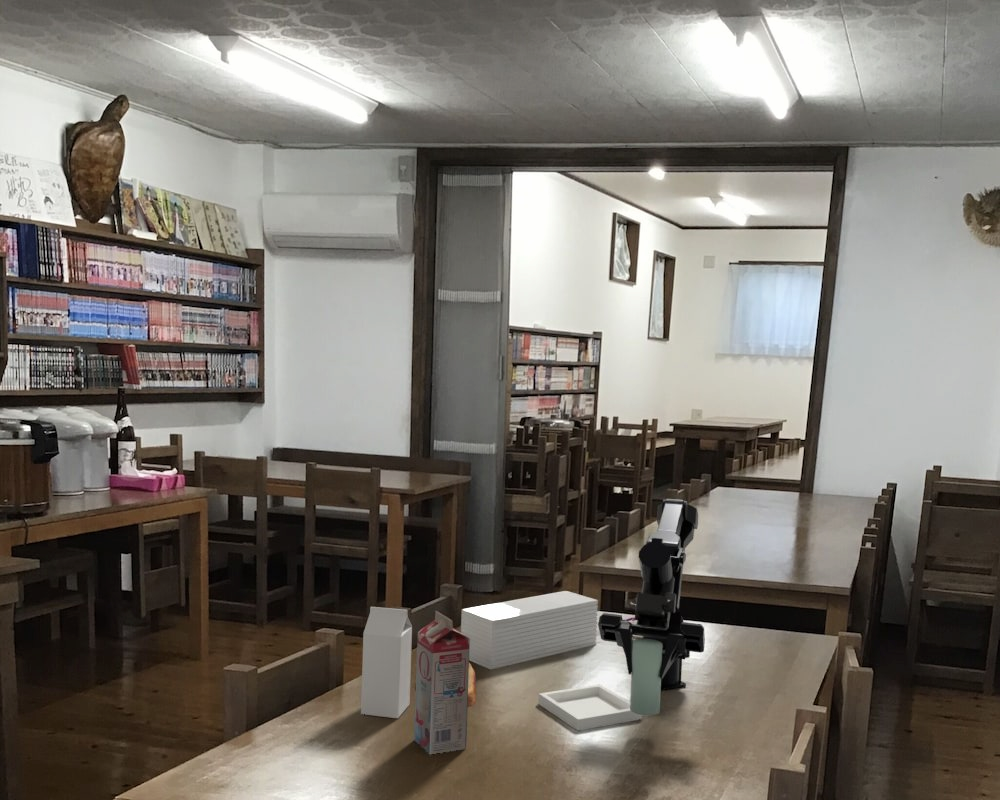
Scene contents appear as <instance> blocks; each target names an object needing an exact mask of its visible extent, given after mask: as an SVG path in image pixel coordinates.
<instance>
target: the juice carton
mask: <svg viewBox="0 0 1000 800" xmlns="http://www.w3.org/2000/svg"><path fill="white" fill-rule="evenodd" d="M453 624H454V623H453V619H450V618H449V617H448V616H446V615H444V614H442V613H440V612H439V611H437V610H435V612H434V620H433V621H432V622H430V623H429V624H427V625H426V626H424V627H422V628H421V629H420V630H419V631H417V642H416V643H417V645H416V646H417V649H416V670H415V671H416V674H415V675H416V676H415V677H416V678H415V704H414V708H415V709H414V732H413V733H414V738H413V740H414V742H416V743H417V745H419V744H420V745H421V746H420V745H419V746H420V747H421V748H422V747H423V748H424V749H425V750H426V751H427V752H428V753H427V752H426V751H425V750H424V749H423V748H422V749H423V750H424V751H425V752H426V753H427V755H429V754H435V755H437V754H436V753H440V754H444V753H443V752H446V753H450V751H451V752H457V751H461V750H467V735H468V734H467V733H468V732H467V731H468V730H467V729H468V708H469V707H468V677H469V663H470V660H469V648H470V639H469V638H468V637H466V636H465V635H463V634H462V633H461V631H458V630H457V629H455V628H454V625H453ZM456 750H457V751H456Z"/></svg>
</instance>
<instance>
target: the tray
mask: <svg viewBox="0 0 1000 800" xmlns="http://www.w3.org/2000/svg"><path fill="white" fill-rule="evenodd" d="M537 703H538V705H539V706H541V707H542V708H544V709H545V710H547V711H548V712H550V713H551V714H552V715H554V716H556V717H557V718H558V719H560V720H561V721H563V722H564V723H565V724H568V726H570V727H572V728H573V729H575V730H576V731H583V730H589V729H595V728H601V727H605V726H611V725H617V724H622V723H629V722H633V721H634V722H635V721H639V719H640V720H643V715H639V714H636V713H634V712H632V711H631V710H630V700H628V699H627V698H625V697H623V696H621V695H619V694H618V693H616V692H614V691H613V690H612V689H610V688H607V687H606V686H604V685H603V684H600V683H599V684H594V685H593V684H592V685H587V686H580V687H579V686H578V687H573V688H567V689H560V690H554V691H553V690H552V691H547V692H541V693H540V692H539V693H538V702H537Z"/></svg>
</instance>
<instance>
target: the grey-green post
mask: <svg viewBox="0 0 1000 800" xmlns="http://www.w3.org/2000/svg"><path fill="white" fill-rule="evenodd" d="M632 641H633V648H632V672H631V675H630V676H631V678H630V698H629V699H630V700H629V701H630V710H631V711H632V712H634V713H636V714H639V715H642V716H647V717H649V716H655V715H658V714H659V713H660V712H661V711H660V710H661V694H662V693H661V692H662V690H661V679H660V670H661V665H662V646H663V644H662V643H661V642H660V641H657V640H654V639H644V638H636V639H633V640H632Z"/></svg>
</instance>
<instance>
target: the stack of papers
mask: <svg viewBox="0 0 1000 800" xmlns="http://www.w3.org/2000/svg"><path fill="white" fill-rule="evenodd" d="M598 602H599V600H598V599H596V598H592V597H588V596H585V595H583V594H582V595H581V594H579V593H575V592H571V591H567V590H563V591H557V592H552V593H551V592H550V593H546V594H541V595H534V596H529V597H524V598H523V597H522V598H517V599H513V600H512V599H510V600H507V601H502V602H501V601H500V602H496V603H495V602H494V603H489V604H484V605H479V606H472V607H467V608H462V609H461V616H460V617H461V620H460V622H461V623H460V633H462V634H463V635H465V636H466V637H468V638H469V639H470V648H469V662H471V663H472V662H473V663H475V664H477V665H478V666H481V667H484V668H486V669H489V670H494V669H495V670H496V669H499V668H503V667H507V665H508V666H511V665H516V664H519V663H523V662H525V663H526V662H528V661H533V660H536V659H541V658H546V657H550V656H554V655H557V654H562V653H563V654H564V653H566V652H570V651H575V650H580V649H584V648H587V647H591V646H596V645H597V632H598V631H597V630H598V629H597V628H598V608H599V605H598Z"/></svg>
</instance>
